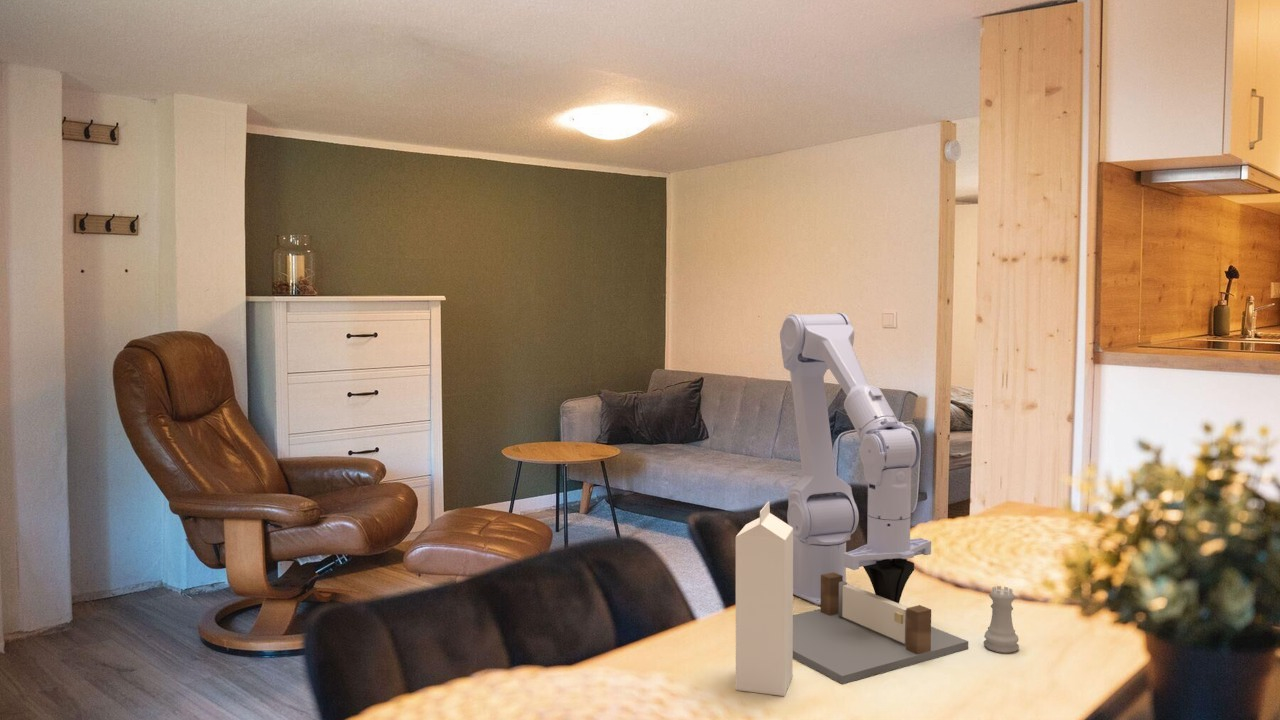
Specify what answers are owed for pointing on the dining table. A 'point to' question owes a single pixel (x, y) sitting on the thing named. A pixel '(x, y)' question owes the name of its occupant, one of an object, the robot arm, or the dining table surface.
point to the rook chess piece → (1001, 623)
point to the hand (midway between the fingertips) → (887, 612)
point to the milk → (764, 605)
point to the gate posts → (915, 616)
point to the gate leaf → (872, 611)
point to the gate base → (858, 647)
